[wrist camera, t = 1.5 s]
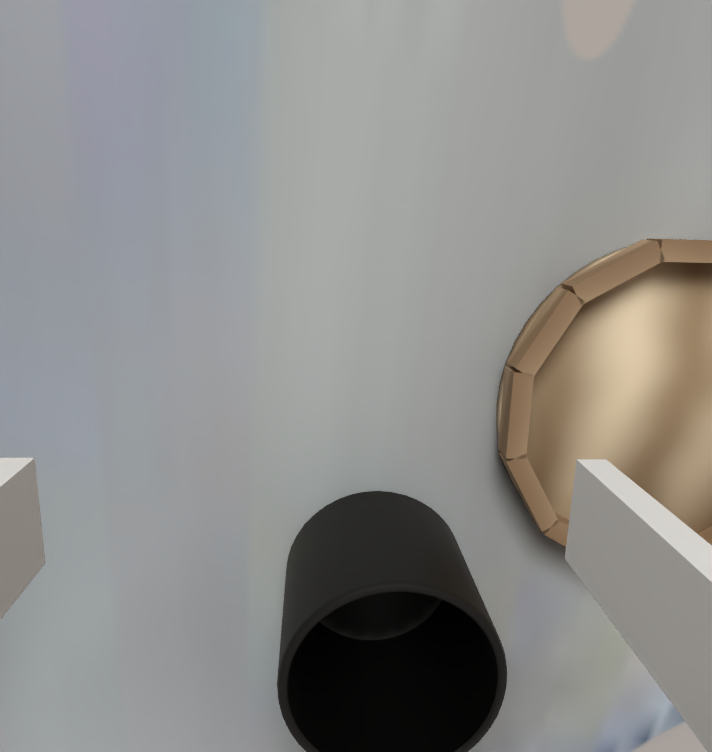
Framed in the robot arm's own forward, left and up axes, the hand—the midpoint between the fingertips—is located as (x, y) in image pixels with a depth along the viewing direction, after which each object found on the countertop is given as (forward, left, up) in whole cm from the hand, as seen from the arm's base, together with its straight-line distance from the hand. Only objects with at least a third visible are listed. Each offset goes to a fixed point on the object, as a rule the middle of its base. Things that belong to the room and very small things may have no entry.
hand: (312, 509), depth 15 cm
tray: (+18, -2, -16) cm, 24 cm away
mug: (+4, -13, -17) cm, 21 cm away
